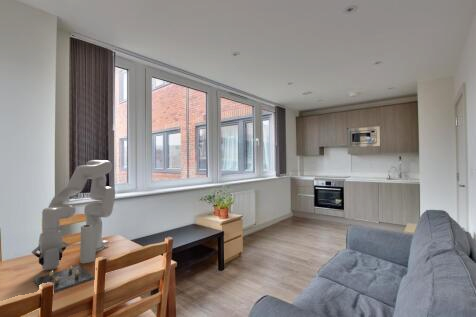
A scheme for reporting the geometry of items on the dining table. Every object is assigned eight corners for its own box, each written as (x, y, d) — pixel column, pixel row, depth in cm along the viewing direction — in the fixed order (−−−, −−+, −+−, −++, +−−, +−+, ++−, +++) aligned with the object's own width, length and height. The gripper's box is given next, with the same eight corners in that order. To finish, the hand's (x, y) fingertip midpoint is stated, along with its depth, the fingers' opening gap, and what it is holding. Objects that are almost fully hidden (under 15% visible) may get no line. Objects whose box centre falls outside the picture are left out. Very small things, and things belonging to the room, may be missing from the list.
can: (62, 266, 138) (62, 244, 138) (48, 272, 131) (48, 249, 131) (53, 263, 141) (53, 243, 141) (38, 269, 134) (38, 247, 134)
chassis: (78, 267, 139) (78, 259, 139) (93, 278, 126) (94, 270, 126) (33, 281, 123) (33, 272, 123) (46, 295, 111) (46, 285, 111)
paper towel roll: (77, 262, 145) (78, 226, 145) (87, 258, 151) (88, 223, 151) (85, 264, 142) (86, 227, 142) (95, 261, 148) (96, 225, 148)
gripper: (66, 225, 145) (66, 255, 145) (28, 232, 131) (28, 265, 131) (71, 228, 140) (71, 258, 141) (32, 235, 126) (32, 269, 127)
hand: (50, 261), depth 136 cm, fingers closed on can, 7 cm apart
